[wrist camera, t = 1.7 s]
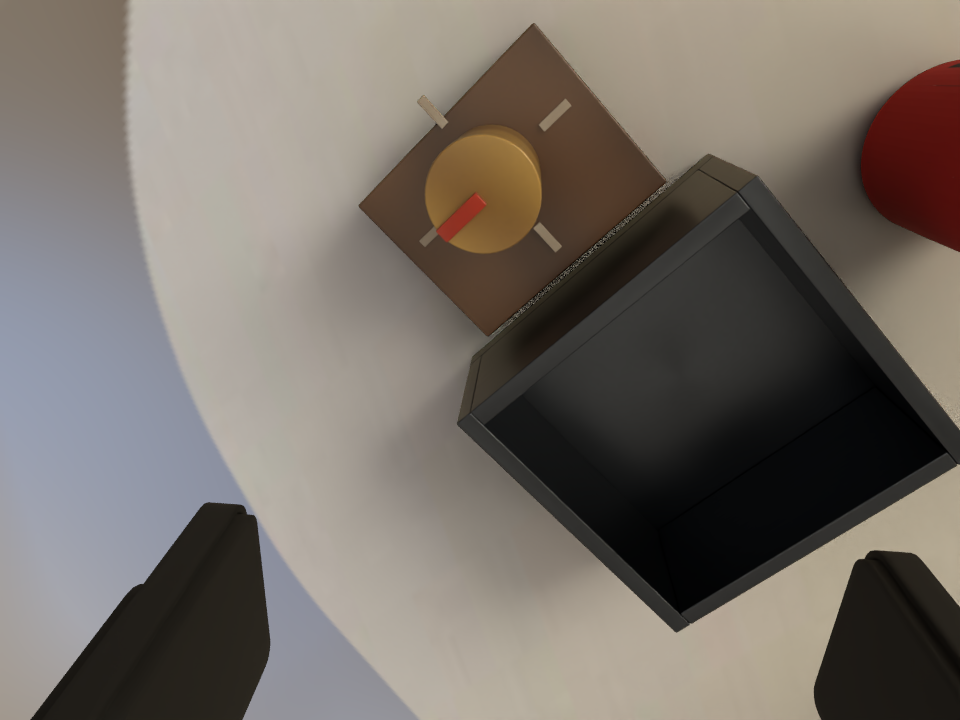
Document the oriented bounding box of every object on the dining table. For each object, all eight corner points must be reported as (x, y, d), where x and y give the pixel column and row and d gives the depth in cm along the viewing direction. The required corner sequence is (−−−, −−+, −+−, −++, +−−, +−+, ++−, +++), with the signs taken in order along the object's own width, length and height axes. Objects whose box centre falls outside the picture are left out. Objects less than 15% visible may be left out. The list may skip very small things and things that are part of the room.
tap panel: (515, 4, 27) (513, -3, 25) (657, 173, 29) (668, 182, 27) (353, 178, 30) (337, 187, 28) (491, 319, 32) (487, 338, 30)
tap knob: (493, 102, 26) (484, 107, 21) (561, 178, 27) (566, 200, 22) (423, 174, 28) (398, 195, 23) (490, 244, 28) (480, 279, 24)
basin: (708, 153, 29) (757, 175, 22) (890, 378, 32) (979, 453, 26) (471, 357, 33) (455, 424, 27) (652, 535, 37) (676, 633, 30)
